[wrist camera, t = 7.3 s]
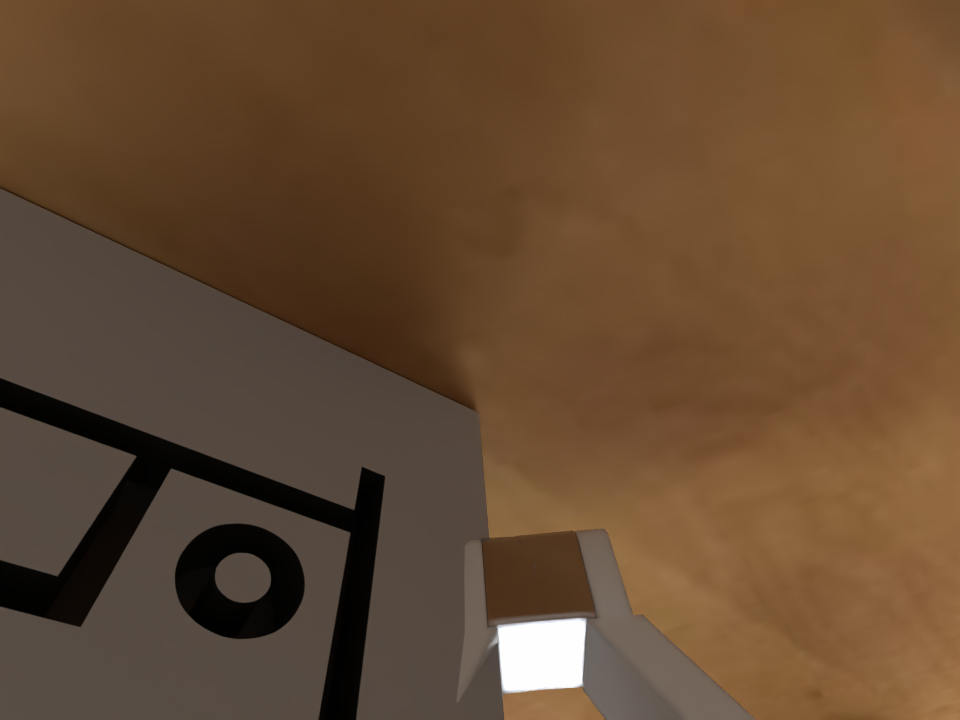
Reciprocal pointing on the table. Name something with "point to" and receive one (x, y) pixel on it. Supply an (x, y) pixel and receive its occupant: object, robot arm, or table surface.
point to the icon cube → (218, 505)
